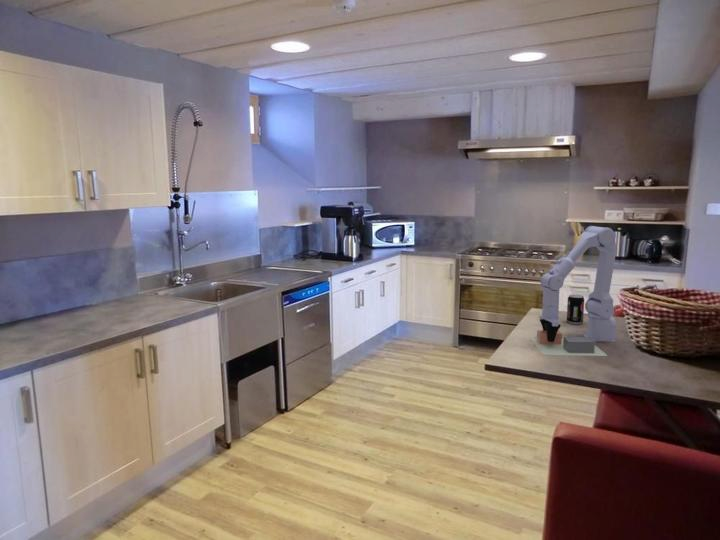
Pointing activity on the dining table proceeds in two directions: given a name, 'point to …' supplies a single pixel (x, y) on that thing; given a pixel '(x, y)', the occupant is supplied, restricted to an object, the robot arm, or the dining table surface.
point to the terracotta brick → (543, 337)
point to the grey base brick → (578, 344)
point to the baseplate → (562, 349)
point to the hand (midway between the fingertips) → (549, 339)
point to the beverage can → (575, 309)
